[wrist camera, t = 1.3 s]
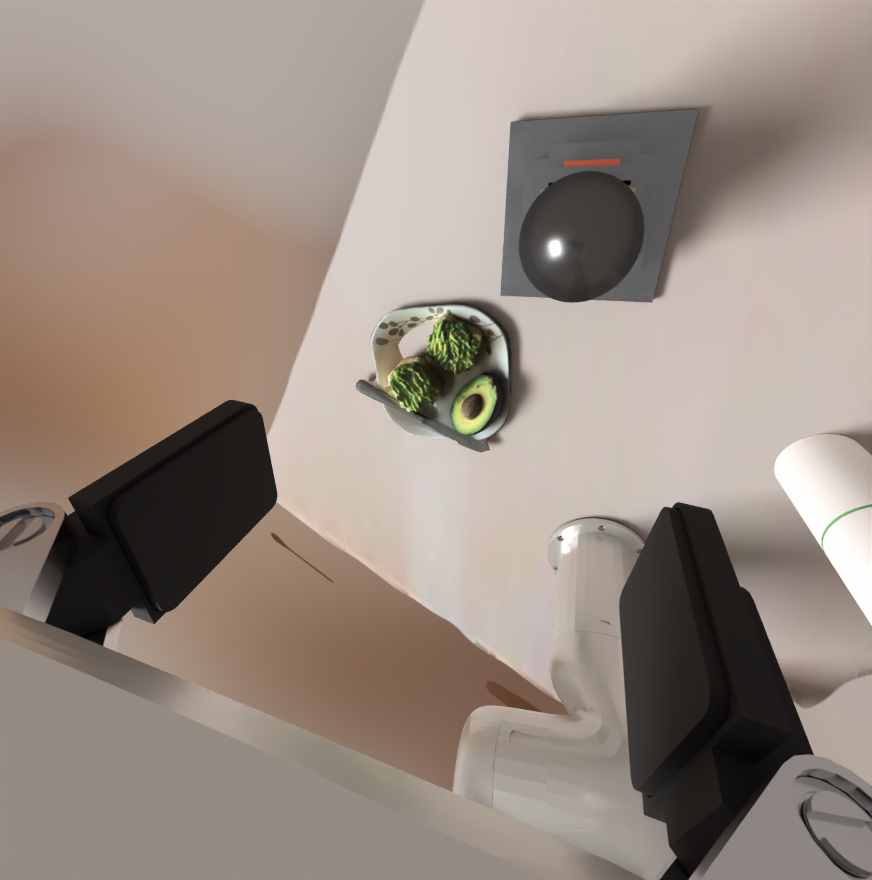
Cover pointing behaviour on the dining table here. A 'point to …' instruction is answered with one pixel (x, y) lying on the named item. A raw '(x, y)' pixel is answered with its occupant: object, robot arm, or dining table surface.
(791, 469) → the cylindrical container
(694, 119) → the stand
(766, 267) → the dining table surface
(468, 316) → the salad plate
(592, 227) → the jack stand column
